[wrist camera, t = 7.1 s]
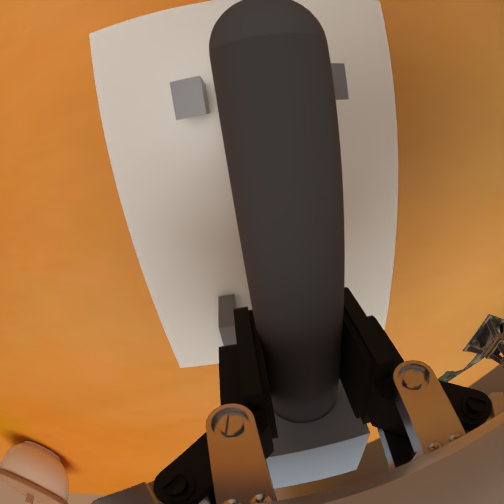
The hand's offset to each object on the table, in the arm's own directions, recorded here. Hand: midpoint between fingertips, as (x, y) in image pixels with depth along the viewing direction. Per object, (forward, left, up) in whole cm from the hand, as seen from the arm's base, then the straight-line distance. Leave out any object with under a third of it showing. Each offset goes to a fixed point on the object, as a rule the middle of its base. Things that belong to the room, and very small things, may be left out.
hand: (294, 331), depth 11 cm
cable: (-2, 0, 0) cm, 2 cm away
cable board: (-3, 0, -9) cm, 9 cm away
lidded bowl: (+31, -41, -9) cm, 52 cm away
